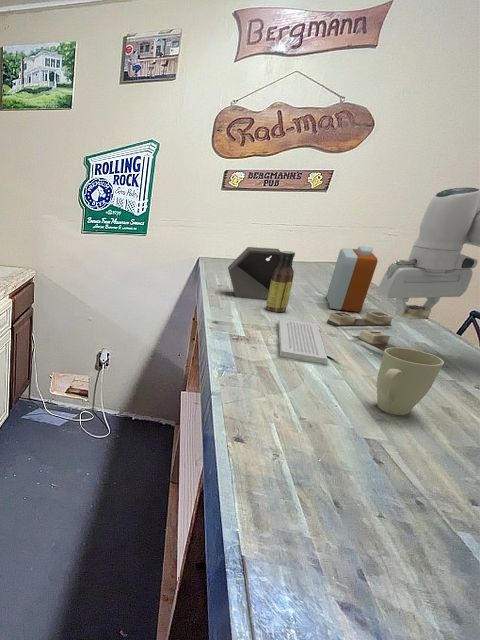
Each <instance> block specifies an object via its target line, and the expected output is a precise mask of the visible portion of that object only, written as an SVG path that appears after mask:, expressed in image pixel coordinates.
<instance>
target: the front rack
mask: <svg viewBox="0 0 480 640" xmlns="http://www.w3.org/2000/svg"><path fill="white" fill-rule="evenodd" d="M351 337H353V338H354V339H357V340H358V341H360V342H363V343H365V344H368V345H370V346H371V347H374V348H376V349H378V350H380V351H381V352H384V351H385V349H387V348H399V347H398V346H396V345H394V344H391V343H390V342H389V340H390V337H391V335H390V334H388V333H385V332H383V331H380V330H378V329H361V330H360V332H359V335H352V336H351Z"/></svg>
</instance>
